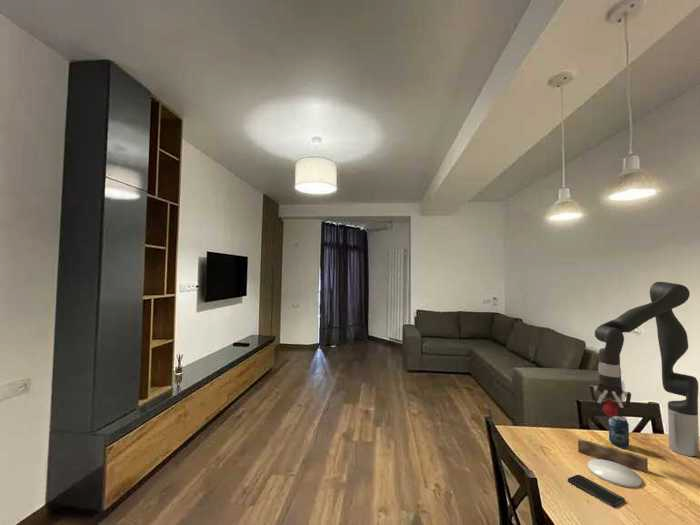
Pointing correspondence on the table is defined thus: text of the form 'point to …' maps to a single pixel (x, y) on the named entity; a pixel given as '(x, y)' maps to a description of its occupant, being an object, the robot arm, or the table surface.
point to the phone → (596, 491)
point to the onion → (610, 408)
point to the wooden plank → (613, 455)
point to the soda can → (619, 431)
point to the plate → (614, 473)
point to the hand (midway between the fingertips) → (610, 413)
